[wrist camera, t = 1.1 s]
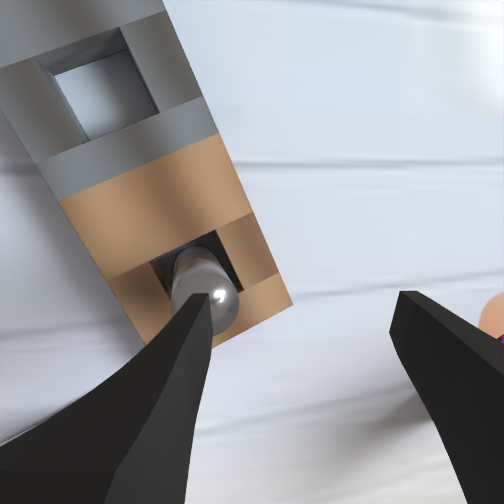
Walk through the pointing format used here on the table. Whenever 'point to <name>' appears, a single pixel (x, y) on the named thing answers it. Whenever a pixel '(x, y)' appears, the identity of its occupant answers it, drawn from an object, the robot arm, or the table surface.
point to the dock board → (133, 156)
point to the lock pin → (204, 286)
